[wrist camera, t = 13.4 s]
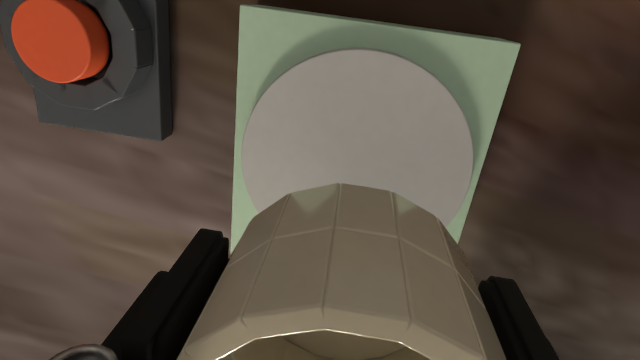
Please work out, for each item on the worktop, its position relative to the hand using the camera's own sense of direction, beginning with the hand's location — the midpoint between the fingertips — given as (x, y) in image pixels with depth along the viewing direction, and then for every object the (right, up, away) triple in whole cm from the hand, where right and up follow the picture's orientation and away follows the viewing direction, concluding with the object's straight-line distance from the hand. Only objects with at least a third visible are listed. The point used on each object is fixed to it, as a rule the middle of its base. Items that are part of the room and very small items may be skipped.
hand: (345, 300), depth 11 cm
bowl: (0, 0, +1) cm, 1 cm away
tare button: (-12, +10, +8) cm, 18 cm away
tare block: (-12, +11, +10) cm, 19 cm away
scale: (+1, +5, +11) cm, 13 cm away
